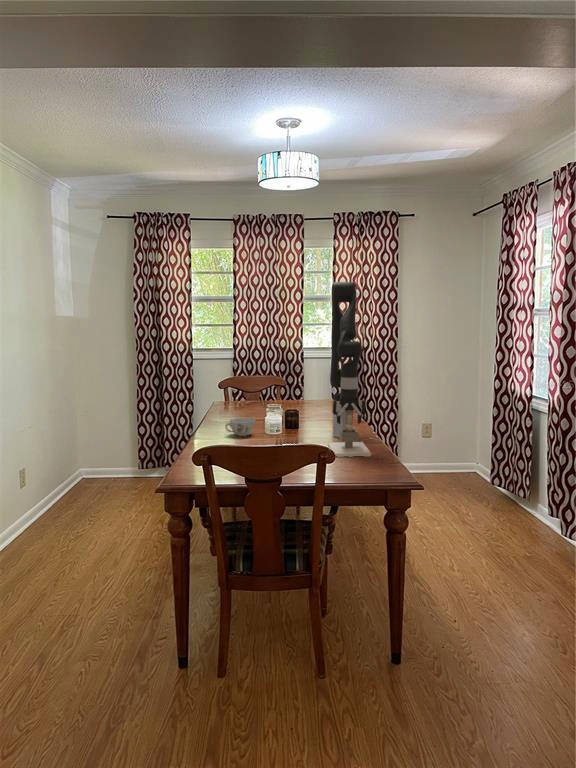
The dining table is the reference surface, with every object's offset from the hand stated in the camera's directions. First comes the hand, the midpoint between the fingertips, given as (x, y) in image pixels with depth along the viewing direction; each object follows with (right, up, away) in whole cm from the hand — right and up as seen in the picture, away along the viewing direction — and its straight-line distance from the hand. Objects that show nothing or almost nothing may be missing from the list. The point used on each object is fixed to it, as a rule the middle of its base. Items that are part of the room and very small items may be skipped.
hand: (348, 423), depth 256 cm
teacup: (-50, -8, +33) cm, 60 cm away
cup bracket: (0, -12, +2) cm, 12 cm away
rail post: (0, -6, +1) cm, 6 cm away
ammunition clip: (-27, -16, -23) cm, 39 cm away
